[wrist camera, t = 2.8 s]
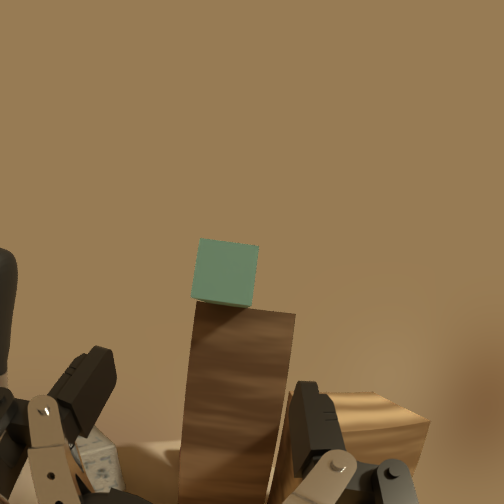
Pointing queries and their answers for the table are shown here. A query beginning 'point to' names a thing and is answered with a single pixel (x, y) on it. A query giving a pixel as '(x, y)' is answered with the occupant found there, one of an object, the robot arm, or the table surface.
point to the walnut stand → (233, 403)
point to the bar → (225, 273)
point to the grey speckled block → (100, 461)
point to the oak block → (359, 436)
